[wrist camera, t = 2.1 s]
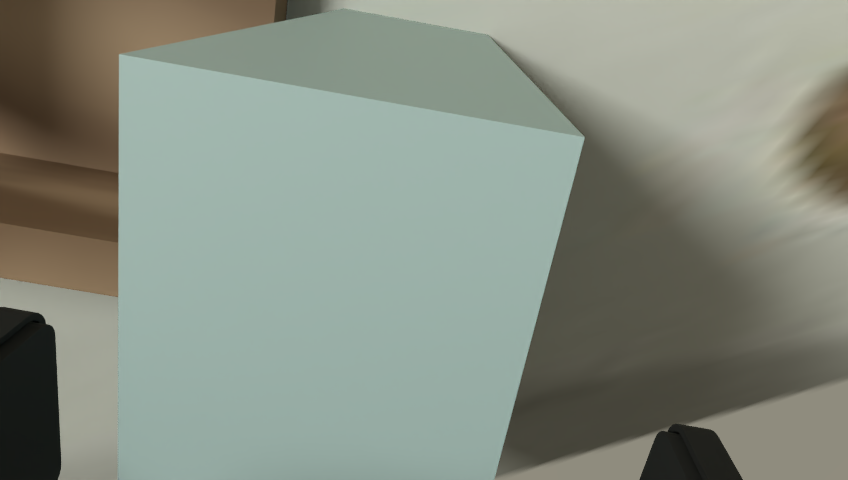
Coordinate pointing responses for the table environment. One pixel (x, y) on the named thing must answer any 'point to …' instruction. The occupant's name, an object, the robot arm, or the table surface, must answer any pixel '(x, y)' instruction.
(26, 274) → the shelf
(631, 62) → the table surface
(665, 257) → the table surface
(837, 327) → the table surface
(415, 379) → the book
